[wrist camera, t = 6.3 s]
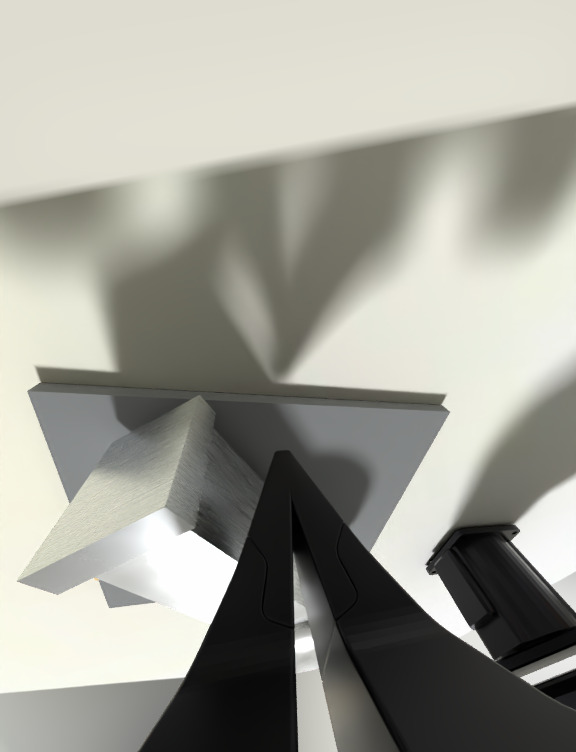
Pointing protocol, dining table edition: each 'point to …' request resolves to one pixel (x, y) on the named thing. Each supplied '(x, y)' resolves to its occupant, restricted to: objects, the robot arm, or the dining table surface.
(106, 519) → the elbow
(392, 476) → the base
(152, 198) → the dining table surface
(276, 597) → the robot arm
